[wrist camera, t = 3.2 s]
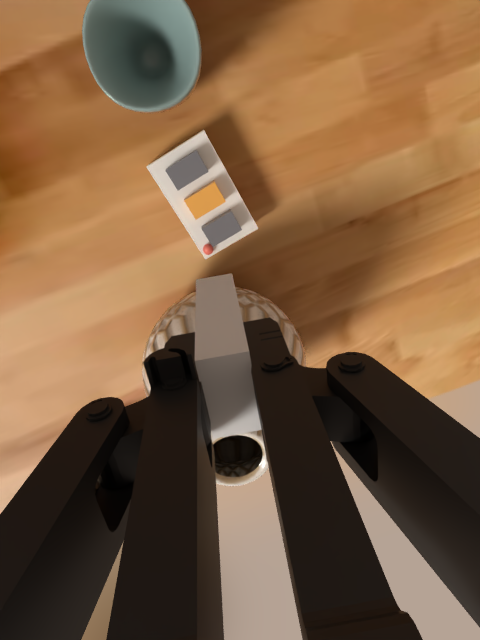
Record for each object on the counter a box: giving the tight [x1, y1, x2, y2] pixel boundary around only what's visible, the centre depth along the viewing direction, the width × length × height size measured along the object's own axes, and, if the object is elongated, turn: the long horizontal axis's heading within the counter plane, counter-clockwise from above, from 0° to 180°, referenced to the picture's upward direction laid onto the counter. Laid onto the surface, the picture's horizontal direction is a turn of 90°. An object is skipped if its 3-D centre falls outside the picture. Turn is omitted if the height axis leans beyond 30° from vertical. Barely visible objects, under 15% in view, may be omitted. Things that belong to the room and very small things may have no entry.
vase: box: [142, 287, 306, 486], centre depth 40 cm, size 16×16×20 cm
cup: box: [82, 0, 202, 113], centre depth 32 cm, size 8×8×10 cm
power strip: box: [147, 130, 258, 260], centre depth 40 cm, size 10×6×4 cm, turn 29°
